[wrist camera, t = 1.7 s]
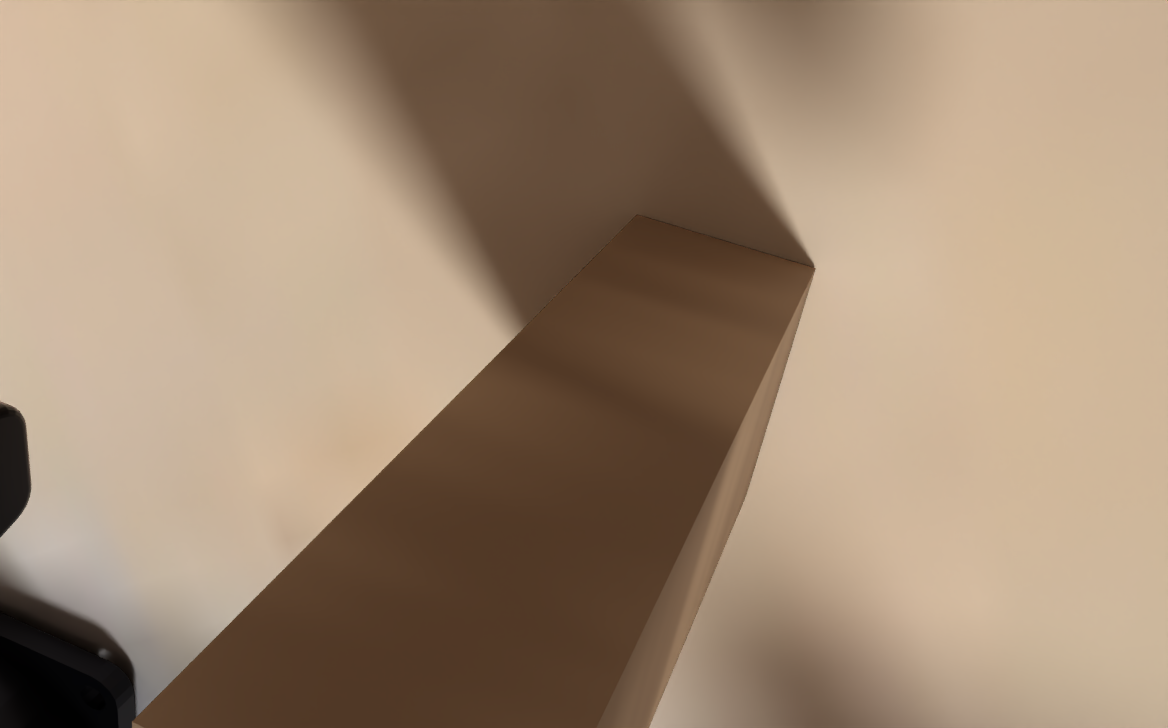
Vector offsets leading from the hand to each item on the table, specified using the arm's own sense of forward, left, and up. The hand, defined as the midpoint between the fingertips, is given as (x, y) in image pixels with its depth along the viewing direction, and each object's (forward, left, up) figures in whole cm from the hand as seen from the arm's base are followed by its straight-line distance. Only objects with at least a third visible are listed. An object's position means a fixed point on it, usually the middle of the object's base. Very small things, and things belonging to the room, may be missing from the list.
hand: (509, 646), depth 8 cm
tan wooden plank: (0, 0, -5) cm, 5 cm away
